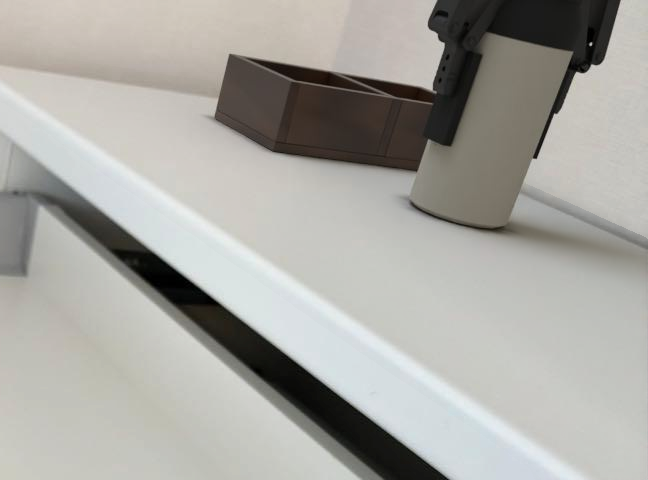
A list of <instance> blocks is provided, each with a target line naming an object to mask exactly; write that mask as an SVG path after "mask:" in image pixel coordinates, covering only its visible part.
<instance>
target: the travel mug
mask: <svg viewBox="0 0 648 480" xmlns="http://www.w3.org/2000/svg"><path fill="white" fill-rule="evenodd" d="M582 2H583V0H506V1H505V2H504V4H503V5H502V6H501V7H500V9H499V10H498V13H497V16H496V18H495V19H494V21H493V22H492V24H491V25H490V27H489V28H488V29H487V31H486V32H485V34H484V35H483V37H482V38H481V39H480V41H479V42H478V44H477V45H476V47H475V48H474V49H472V50H470V51H472V52H476V53H479V54H482V58H481V61H480V64H479V67H478V70H477V73H476V76H475V78H474V81H473V84H472V87H471V90H470V93H469V96H468V99H467V102H466V104H465V107H464V110H463V113H462V116H461V119H460V122H459V125H458V128H457V130H456V133H455V136H454V139H453V142H452V145H451V147H450V146H443V145H441V144H439V143H436V142H434V141H432V140H430V139H428V142H427V145H426V148H425V151H424V154H423V157H422V160H421V163H420V166H419V169H418V170H417V172H416V175H415V178H414V181H413V183H412V187H411V190H410V193H409V195H408V198H409V200H410V201H411V202H412V203H413V205H414V206H415V207H416V208H418V209H420V210H421V211H423V212H424V213H426V214H429V215H432V216H434V217H436V218H439V219H441V220H442V219H443V220H446V221H450V222H452V223H456V224H459V225H464V226H468V227H473V228H479V229H489V230H490V229H492V230H493V229H497V228H500V227H505V226H507V225H508V223H509V220H510V218H511V216H512V212H513V210H514V207H515V205H516V202H517V201H518V196H519V194H520V191H521V190H522V187H523V184H524V181H525V179H526V177H527V174H528V171H529V169H530V166H531V163H532V161H533V159H532V158H533V156H534V153H535V150H536V148H537V145H538V143H539V140H540V137H541V135H542V132H543V130H544V127H545V124H546V122H547V119H548V117H549V114H550V111H551V109H552V106H553V104H554V101H555V98H556V96H557V93H558V91H559V88H560V85H561V83H562V80H563V78H564V75H565V72H566V70H567V67H568V65H569V62H570V60H571V57H572V54H573V51H574V49H575V47H576V44H577V41H578V39H579V36H580V34H581V31H582V19H581V6H580V4H582Z"/></svg>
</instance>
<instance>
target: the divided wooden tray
mask: <svg viewBox="0 0 648 480" xmlns="http://www.w3.org/2000/svg"><path fill="white" fill-rule="evenodd" d="M436 93H437V92H435V91H433V90H432V89H428V88H426V87H423V86H419V85H413V84H409V83H403V82H397V81H390V80H384V79H380V78H379V79H378V78H374V77H369V76H361V75H355V74H351V73H345V72H339V71H334V70H333V71H332V70H328V69H327V70H326V69H323V68H322V69H321V68H317V67H310V66H304V65H298V64H292V63H286V62H280V61H277V60H270V59H264V58H257V57H252V56H246V55H240V54H235V53H228V58H227V61H226V65H225V70H224V73H223V78H222V83H221V87H220V91H219V95H218V99H217V104H216V108H215V111H214V116H213V119H215V120H217V121H218V122H220V123H222V124H224V125H225V126H227V127H230V128H231V129H233V130H234V131H236V132H238V133H240V134H241V135H243V136H245V137H247V138H249V139H250V140H253V141H254V142H255V143H257V144H260V145H261V146H262V147H265V148H266V149H268V150H270V151H272V152H276V153H284V154H292V155H298V156H307V157H313V158H322V159H328V160H337V161H345V162H352V163H359V164H365V165H366V164H367V165H373V166H382V167H388V168H397V169H404V170H405V169H406V170H413V171H418V169H419V166H420V163H421V160H422V157H423V154H424V151H425V148H426V145H427V142H428V139H427V138H425V137H423V136H422V135H423V132H424V129H425V126H426V123H427V120H428V117H429V114H430V111H431V108H432V105H433V102H434V99H435V96H436Z"/></svg>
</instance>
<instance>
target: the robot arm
mask: <svg viewBox="0 0 648 480" xmlns="http://www.w3.org/2000/svg"><path fill="white" fill-rule="evenodd" d="M505 1H506V0H436V2H435V3H434V6H433V8H432V11H431V13H430V15H429V17H428V20H427V28H428V30H430V31H432V32H434V33H436V34H437V39H438V41H439V42H441V43H443V44H444V47H443V51H442V54H441V58H440V59H439V63H438V65H437V70H436V72H435V75H434V78H433V82H432V91H434V92H436V96H435V99H434V102H433V105H432V108H431V111H430V114H429V117H428V120H427V123H426V126H425V129H424V132H423V135H422V136H423V137H425V138H427V139H430V140H432V141H434V142H436V143H439V144H441V145H443V146H450V147H451V145H452V142H453V139H454V136H455V133H456V130H457V128H458V125H459V122H460V119H461V116H462V113H463V110H464V107H465V104H466V102H467V99H468V96H469V93H470V90H471V87H472V84H473V81H474V78H475V76H476V73H477V70H478V67H479V64H480V61H481V58H482V54H479V53H476V52H472V51H470V50H472V49H474V48H475V47H476V45H477V44H478V42H479V41H480V39H481V38H482V37H483V35H484V34H485V32H486V31H487V29H488V28H489V27H490V25H491V24H492V22H493V21H494V19H495V18H496V16H497V13H498V10H499V9H500V7H501V6H502V5H503V4H504V2H505ZM621 1H622V0H583V2H582V4H580V6H581V19H582V31H581V34H580V36H579V39H578V41H577V44H576V47H575V49H574V51H573V54H572V57H571V60H570V62H569V65H568V67H567V70H566V72H565V75H564V78H563V80H562V83H561V85H560V88H559V91H558V93H557V96H556V98H555V101H554V104H553V106H552V109H551V111H550V114H549V117H548V119H547V122H546V124H545V127H544V130H543V132H542V135H541V137H540V140H539V143H538V145H537V148H536V150H535V153H534V156H533V158H532V160H537V159H538V157H539V155H540V153H541V150H542V147H543V145H544V142H545V139H546V136H547V134H548V131H549V129H550V126H551V124H552V121H553V118H554V117H555V116H554V115H558V114H559V112H560V111H561V110H562V109H563V106H564V104H565V100H566V99H567V94H569V90H570V88H571V85H572V83H573V80H574V78H575V75H576V74H577V73H579V74H586V73H587V72H588V71H589V70H590V69H591V68H592V65H593V66H595V67H597V66H600V65H602V63H603V62H604V60H605V59H606V55H607V53H608V52H607V51H608V48H609V46H610V45H609V44H610V40H611V37H612V34H613V31H614V26H615V23H616V19H617V16H618V12H619V10H620V9H619V8H620V4H621ZM590 44H591V45H590Z"/></svg>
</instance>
